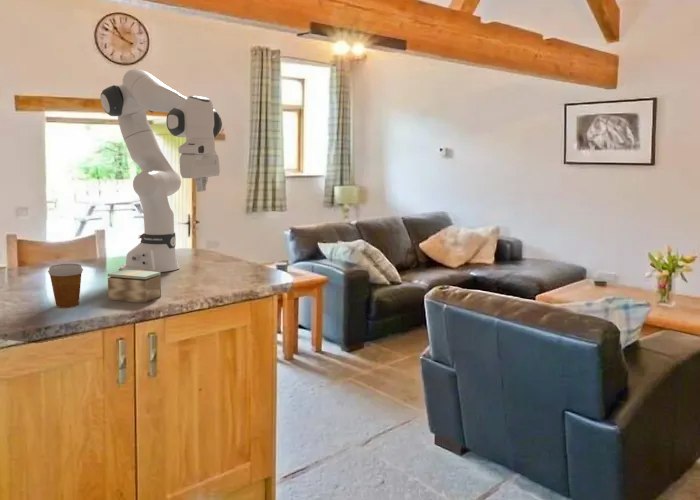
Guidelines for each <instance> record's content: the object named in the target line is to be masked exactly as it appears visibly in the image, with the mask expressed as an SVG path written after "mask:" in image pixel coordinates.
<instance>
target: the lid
mask: <svg viewBox="0 0 700 500" xmlns="http://www.w3.org/2000/svg"><path fill="white" fill-rule="evenodd" d="M161 273H162V272H152V271H141V270H126V269H124V270H121V269H120V270H117V271H114V272H109V273H107V278H109V277H121V278H133V279H148V278H151V277H155V276H158V275H161ZM161 276H162V275H161Z"/></svg>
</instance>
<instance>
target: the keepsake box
mask: <svg viewBox="0 0 700 500" xmlns="http://www.w3.org/2000/svg"><path fill="white" fill-rule="evenodd" d="M161 276H162V275H158V276H155V277H151V278H148V279H133V278H121V277H107V287H108V288H107V290H108V293H107V294H108V300H109V301H119V302H132V303H141V304H147V303H149V302H151V301H154V300H156V299H158V298H161V297H162V280H161V279H162V277H161Z"/></svg>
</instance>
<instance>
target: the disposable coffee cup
mask: <svg viewBox="0 0 700 500" xmlns="http://www.w3.org/2000/svg"><path fill="white" fill-rule="evenodd" d="M83 271H84V269H83V266H82V264H79V263H57V264H53V265H50V266H49V269H48V271H47V273H48V275H49V276H50V277H49V278H50V281H51V286H52V292H53V296H54V303H55V307H57V308H61V309H63V308H65V309H66V308H67V309H68V308H74V307H77V306H79V305H80V295H81V294H80V293H81V283H82V273H83Z"/></svg>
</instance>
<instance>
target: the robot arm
mask: <svg viewBox="0 0 700 500" xmlns="http://www.w3.org/2000/svg"><path fill="white" fill-rule="evenodd" d="M100 104H101V106H102V108H103V110H104V112H105V113H106V114H107V115H108V116H110V117H117V121H118V126H119V129H120V132H121V136H122V138H123V141H124V143H125V146H126V148H127V151H128V153H129V156H130V157H131V159H132V161H133V162H134V164H136V165H137V166H138V167H139V168H140V170H141V172H138V173H137V174H136V175H135V176H134V179H133V180H132V181H133V182H132V188H133V190H134V192H135V193H136V195H137V196H138V199H139V201H140V204H141V207H142V213H143V225H144V226H143V230H144V232H143V233H142V234H141V235H138V239H141V240H140V243H138V244H137V245H136V246H135V247H133V248H132V249H130V251H128V253H126V257H125V258H126V259H125V263H123V264H121V265H120V266H119V270H120V271H121V270H124V269H126V270H141V271H152V272H161V273H163V272H164V273H165V272H171V271H176V270H178V269H180V265H179V263H178V257H177V253H176V243H177V242H176V232H175V220H174V219H175V217H174V216H175V215H174V211H173V210H172V209H171V205H170V201H169V198H168V197H169V196H170V197H171V196H173V194H175V193H176V192H178V191H179V190H180V188H181V184H182V179H194V181H193V182H194V183H195V186H196V192H200V193H201V192H205V191H207V184H208V182H209V181H208V179H209V178H208V177H218V176H220V169H221V168H220V161H219V159H220V158H219V156H218V153H217V152H216V148H215V147H216V145H215V141H216V140H215V138H216V137H217V136H218V135H219V134H220V133H221V130H222V128H223V121H222V118H221V116H220V114H219V112H218V111H217V110H215V109H214V107H213V102H212V100H211V99H210V98H208V97H205V96H198V95H189V96H188V97H187V96H185V95H184V94H181V93H180V92H178V91H177V90H175V89H173V88H171V87H170V86H168V85H166V83H163V82H162V81H161V80H159V79H158V78H157V77H156V76H154V75H152V74H151V73H150V72H148V71H145V70H143V69H141V68H132V69H128V70H127V71H126V72H125V73H124V75H123V78H122V83H119V84H116V85H115V84H113V85H111V86H108V87H106V88H104V89H102V91H101V93H100ZM148 111H149V112H150V113H154V112H157V113H167V115H166V123H165V124H166V127H167V130H168V132H169V133H170V134H171V135H172V136H173V137H176V138H185V142H184V143H182V144H181V145H179V147H178V154H180V155H179V173H180V175H179V174H178V172H176V170H174V168H173V167H172V165H171V164H170V163H169V161H168V160H167V158H166V156H165V155H164V153H163V152H162V150H161V148H160V145H159V143H158V141H157V139H156V136H155V133H154V131H153V129H152V126H151V125H150V122H149V120H148V117H147V113H148ZM180 176H181V177H180ZM181 178H182V179H181Z"/></svg>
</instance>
